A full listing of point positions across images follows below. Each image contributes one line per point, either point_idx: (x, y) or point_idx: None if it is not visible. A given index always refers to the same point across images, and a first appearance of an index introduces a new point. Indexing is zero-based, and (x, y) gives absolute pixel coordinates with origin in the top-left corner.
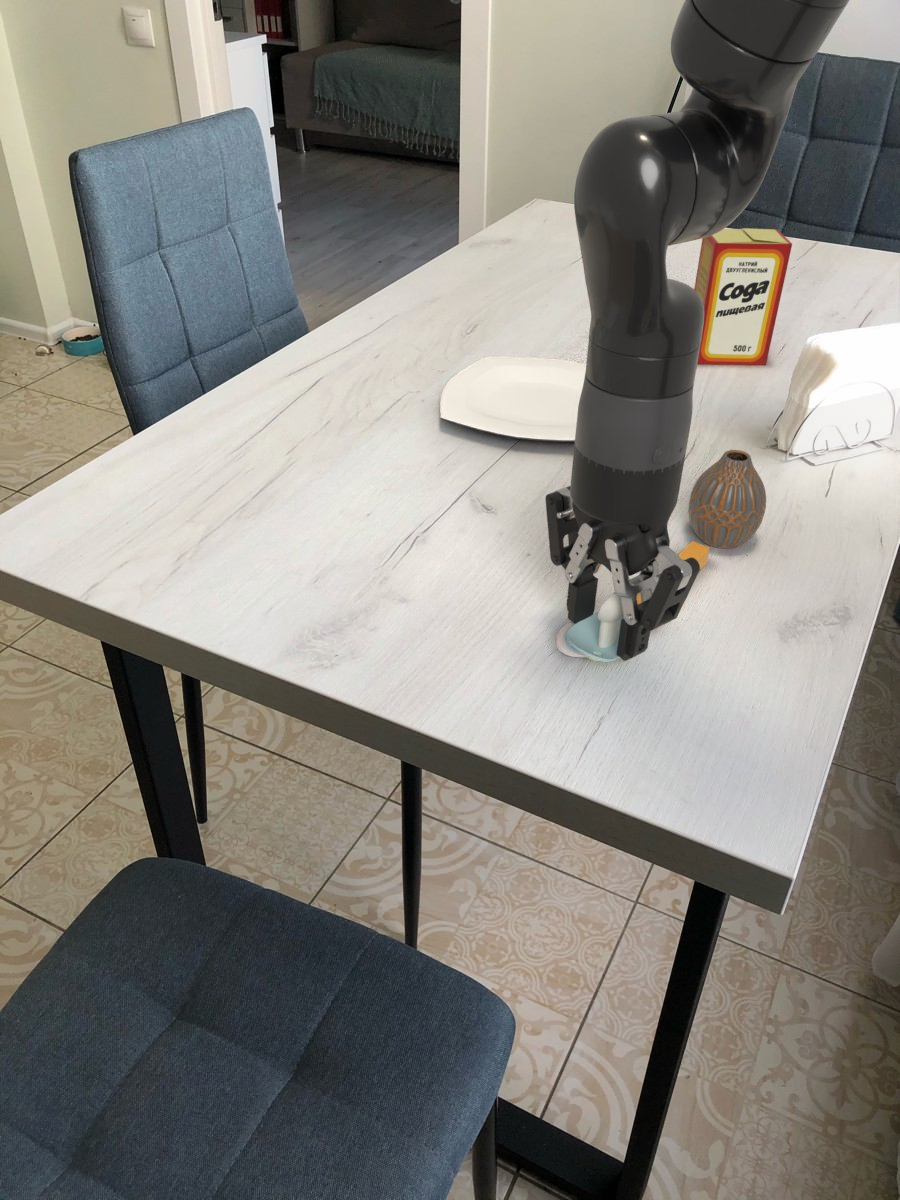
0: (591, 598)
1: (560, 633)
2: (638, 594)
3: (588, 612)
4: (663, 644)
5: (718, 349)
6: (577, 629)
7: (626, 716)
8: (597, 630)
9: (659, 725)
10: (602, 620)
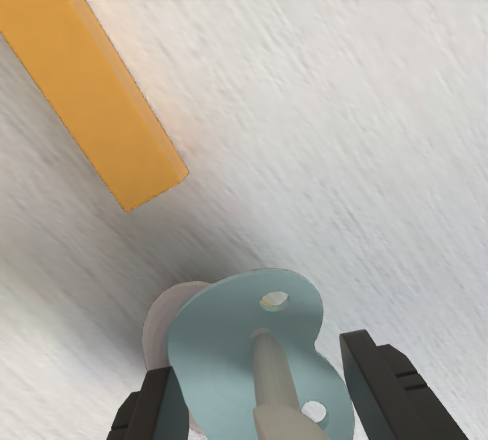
0: (161, 431)
1: (192, 427)
2: (95, 166)
3: (173, 391)
4: (268, 170)
5: None
6: (211, 416)
7: (416, 358)
8: (222, 363)
9: (469, 320)
10: None
